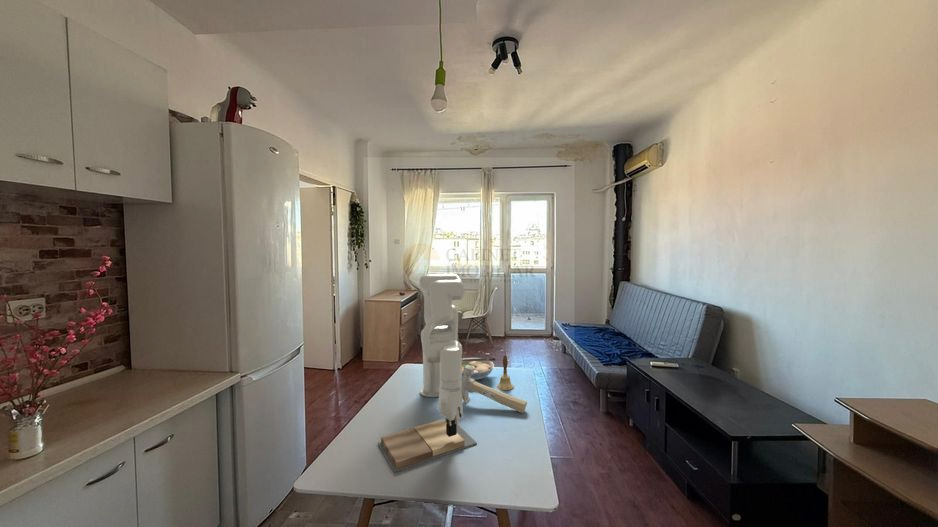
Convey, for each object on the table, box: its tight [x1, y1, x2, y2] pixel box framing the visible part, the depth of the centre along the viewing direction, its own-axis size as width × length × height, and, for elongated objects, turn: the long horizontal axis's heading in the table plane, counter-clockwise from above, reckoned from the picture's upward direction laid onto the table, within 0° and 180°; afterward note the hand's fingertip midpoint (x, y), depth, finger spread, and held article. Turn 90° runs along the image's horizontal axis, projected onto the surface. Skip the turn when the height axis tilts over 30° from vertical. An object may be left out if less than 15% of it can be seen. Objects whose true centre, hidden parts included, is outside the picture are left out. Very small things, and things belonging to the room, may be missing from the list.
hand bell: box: [496, 354, 515, 391], centre depth 171 cm, size 8×8×16 cm
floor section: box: [377, 424, 478, 473], centre depth 123 cm, size 18×30×3 cm, turn 120°
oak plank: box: [413, 418, 464, 456], centre depth 125 cm, size 17×12×2 cm
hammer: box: [461, 365, 528, 414], centre depth 151 cm, size 16×5×30 cm
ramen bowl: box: [462, 357, 496, 382], centre depth 183 cm, size 25×23×8 cm
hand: (451, 434), depth 120 cm, fingers closed
